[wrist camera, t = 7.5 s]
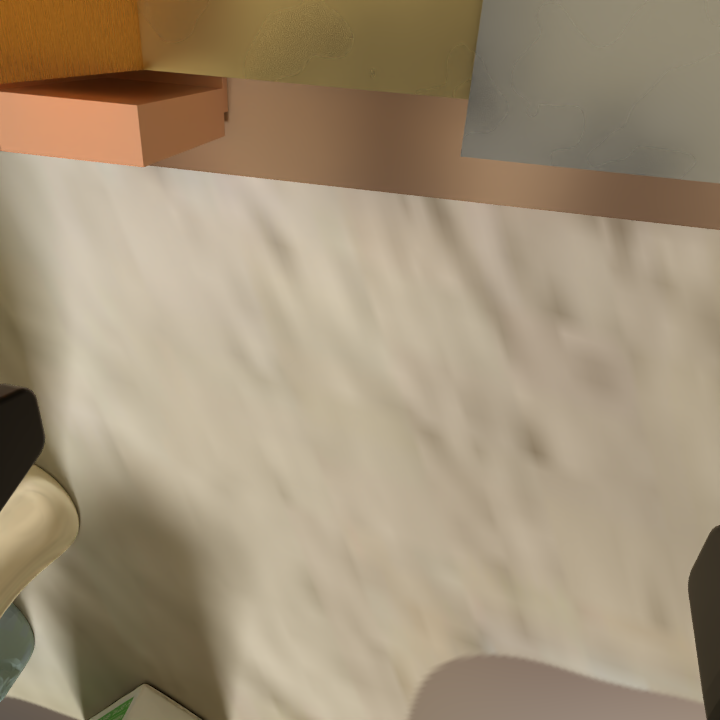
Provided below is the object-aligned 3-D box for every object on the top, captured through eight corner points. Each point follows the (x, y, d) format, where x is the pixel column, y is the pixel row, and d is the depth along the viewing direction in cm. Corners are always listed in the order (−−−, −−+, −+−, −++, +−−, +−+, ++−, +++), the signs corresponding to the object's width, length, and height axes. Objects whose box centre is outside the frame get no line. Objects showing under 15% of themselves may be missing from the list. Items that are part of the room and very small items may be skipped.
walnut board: (978, -218, 12) (1026, -242, 11) (787, 226, 16) (808, 239, 15) (56, -237, 14) (22, -258, 13) (108, 151, 19) (86, 158, 18)
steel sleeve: (908, -106, 12) (1149, -187, 8) (799, 154, 14) (936, 205, 10) (503, -123, 13) (512, -203, 9) (467, 122, 15) (460, 156, 11)
